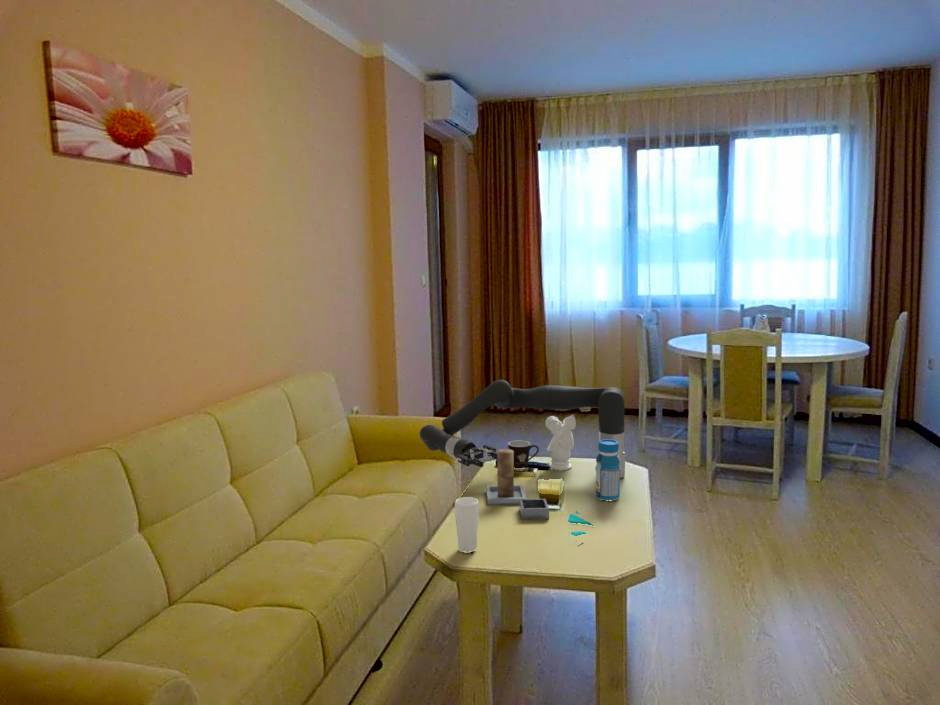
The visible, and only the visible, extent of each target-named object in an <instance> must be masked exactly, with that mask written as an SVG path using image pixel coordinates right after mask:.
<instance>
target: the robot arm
mask: <svg viewBox="0 0 940 705" xmlns="http://www.w3.org/2000/svg"><path fill="white" fill-rule="evenodd" d="M511 386H512V385H511V384H510V383H509V382H508V381H507V380H504V379H498V380H497V379H496V380H495V381H493V382H492V383H491V384H489V385H487V387H486V388H485V389H484V390H482V391H481V392H479V394H478V395H477V396H475V397H474V398H473V399H472V400H471V401H469V402H468V403H466V404H465V405H464V406H462V407H461V408H459V409H457V410H456V411H454V412H453V413H451V414H449V415H448V416H447V417H445V418H444V419H442V421H441V426H442V427H443V428H442V429H441V428H440V427H438V426H436V425H434V424H426V425H424V426H422V427H421V429H420V431H419V437H420V439H421V440H422V442H423V443H424V445H425V446H426V448H428V450H430V451H432V452H433V451H440V452H442V453H444V454H446V455H449V456H451V457H452V458H455V459H457V462H458V463H460V464H461V465H464V466H466V467H470V466H475V467H476V466H477V467H479V468H483V467H484V461H483V460H481V459H488V458H491V459H494V460H497V448H495V447H493V446H489V445H487V444H483V445H482V447H477V445H475V443H474V442H472V441H470V440H467V439H464V438H463V437H462V438H461V437H458V436H454V435H455V434H457V433H458V432H460V431H461V430H463V429H465V428H466V427H467V426H469V425H470V424H471V423H472V422H473V421H474V420H475V419H476V418H477V417H478V416H479V415H480V414H481V413H482V412H484V411H485V410H486V409H488V408H490V407H491V406H495V407H497V408H499V409H513V408H516V409H517V408H529V409H530V408H531V409H543V410H553V411H554V410H555V411H568V410H575V409H581V408H596V409H597V408H598V442H599V441H600V440H604V439H611V440H616V441H618V443H619V450H618V452H617V454H618V456H619V458H620V461H621V462H620V464H619V465H620V467H621V471H620V479H621V478H622V477H623V478H624V477H625V476H626V452H625V407H626V406H625V404H626V395H625V393H624V391H622V390H621V389H620V388H618V387H615V386H609V387H607V386H605V387H580V386H570V385H569V386H568V385H559V384H558V385H556V384H554V385H553V384H550V385H549V384H547V385H542V386H541V385H540V386H537V387H533V388H516V387H515V388H514V387H511ZM599 453H600V452H599V451H598V454H599ZM623 478H622V479H623Z"/></svg>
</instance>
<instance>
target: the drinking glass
mask: <svg viewBox="0 0 940 705" xmlns="http://www.w3.org/2000/svg"><path fill="white" fill-rule="evenodd" d="M454 502H455V503H454V504H455V505H454V515H455V516H454V517H455V525H456V526H455V527H456V534H457V543H458V544H457V546H458V547H457V548H459V549H460V550H461V551H466V552H469V551H473V550H475V549H476V548H477V549H478V530H479V528H478V527H479V516H480V509H479V508H480V507H479V499H478V498H476V497H472V496H463V497H459V498H457V499H456V500H455V501H454ZM459 549H458V550H459ZM477 549H476V550H477Z"/></svg>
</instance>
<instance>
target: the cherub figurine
mask: <svg viewBox="0 0 940 705" xmlns="http://www.w3.org/2000/svg"><path fill="white" fill-rule="evenodd" d="M576 420H577V419H576V417H575V415H574V414H571V415H570V416H566V417H565V418H564V419H563V420H562V421H563V422H562V421H561V420H560V419H559V418H558V417H557V416H555V415H550V416H548V417H547V418H546V420H545V422H544V423H545V427H546V428H547V429H548V430H549V431H550V433H551V434H552V435H553V436H552V438H551V441H550V443H549V444H548V446H547V448H546V451H547V452H548V453H550V458H551V460H550V463H549V465H548V466H550V467H551V468H552V469H551V468H550V467H549V468H550V469H551V470H553V469H555V470H554V471H557V470H559V471H560V472H563V471H569V470H570V469H572V468H573V467H572V463H570V461H571V460H570V459H571V452H572V451H571V450H572V449H574V447H575V443H574V435H573V432H572V431H573V430H575V429H576V427H577V426H576V425H577V424H576V423H577V421H576ZM559 471H558V472H559Z"/></svg>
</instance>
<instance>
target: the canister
mask: <svg viewBox="0 0 940 705" xmlns="http://www.w3.org/2000/svg"><path fill="white" fill-rule="evenodd" d="M496 453H497V485H498V497H499V498H513V497H514V485H515V483H514V481H515V478H514V477H515V476H514V451H513V450H511V449H509V448H502V449H501V448H500V449H498V450H496Z"/></svg>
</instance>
